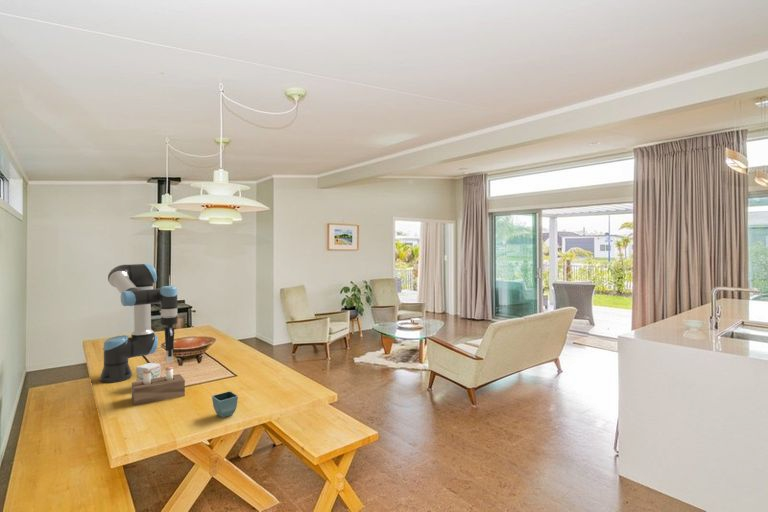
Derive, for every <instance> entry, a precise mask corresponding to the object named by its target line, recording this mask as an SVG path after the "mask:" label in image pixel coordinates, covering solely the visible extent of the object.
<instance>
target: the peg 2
mask: <svg viewBox="0 0 768 512" xmlns="http://www.w3.org/2000/svg"><path fill="white" fill-rule="evenodd" d="M173 375H174V367H173V366H169V367H168V366H167V367H165V376H166V381H170V380H173Z"/></svg>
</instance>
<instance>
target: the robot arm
mask: <svg viewBox="0 0 768 512" xmlns="http://www.w3.org/2000/svg"><path fill="white" fill-rule="evenodd" d="M157 279H158V275H157V272H156V268H155V267H154V266H153V264H151V263H138V264H137V263H136V264H135V263H133V264H121V265H118V266H115V267H114V268H111V270H110V272H108V275H107V280H108V283H109V285H111V286H112V287H114V288H116V289H117V292H119V294H120V303H121V305H122V306H124V307H133V332H132V333H131V337H129V336H128V335H125V334H124V335H123V334H122V335H117V336H113V337H109V338H108V339H105V340H104V342H103V348H102V350H103V367H102V371H101V373H100V375H99V380H100V382H101V383H106V384H107V383H117V382H118V383H119V382H122V381H126V380H128V379H131V378H132V376H133V373H132V370H131V367H130V364H129V359H131V358H137V357H142V356H148V355H153V354H154V353H155V352H156V351H157V350H158V345H159V339H158V335H157V334H156V333H155V331H154V330H153V329H152V313H151V312H152V311H151V310H152V309H151V305H154V304H160V310H159V314H160V325H161V326H165V327H164V329H163V330H164V342H165V344H164V345H165V346H164V347H165V352H166V353H165V354H166V359H165V360H166V364H170V363H173V362H174V360H173V359H174V357H173V356H174V355H173V354H174V353H173V352H174V351H173V350H174V349H175V348H174V346H175V345H174V344H175V327H174V325H176V324H178V295H179V294H178V287H177V286H175V285H165V286H161V287H158V288H153V287H154V284H156V282H157Z"/></svg>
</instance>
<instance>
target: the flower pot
mask: <svg viewBox="0 0 768 512" xmlns="http://www.w3.org/2000/svg"><path fill="white" fill-rule="evenodd" d="M211 398H212V399H211V401H212V406H213V410H214V411H215V413H216V414H217V416H219V417H220V418H222V419H224V418H227V417H231V416H233V415H234V413H235V412H236V410H237V407H238V401H239V400H238V399H239V395H237V394H235V393H234V392H233V391H232V390H231V391H230V390H229V391H226V392H225V391H224V392H221V393H218V394H213V395H212V396H211Z"/></svg>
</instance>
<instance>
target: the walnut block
mask: <svg viewBox="0 0 768 512" xmlns="http://www.w3.org/2000/svg"><path fill="white" fill-rule="evenodd" d="M185 388H186V381H185V378H184V377H183V376H182V375H181V374H179V373H178V374H173V380H170V381H166V375H165V376H161V377H159V378H153V379H151V384H147V385H143V380H142V381H136V380H135V381H132V382H131V399H132V403H133V405H134V406H135V407H136V406H141V405H145V404H150V403H155V402H156V403H157V402H160V401H165V400H170V399H171V400H172V399H175V398H180V397H185V395H186V389H185Z"/></svg>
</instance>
